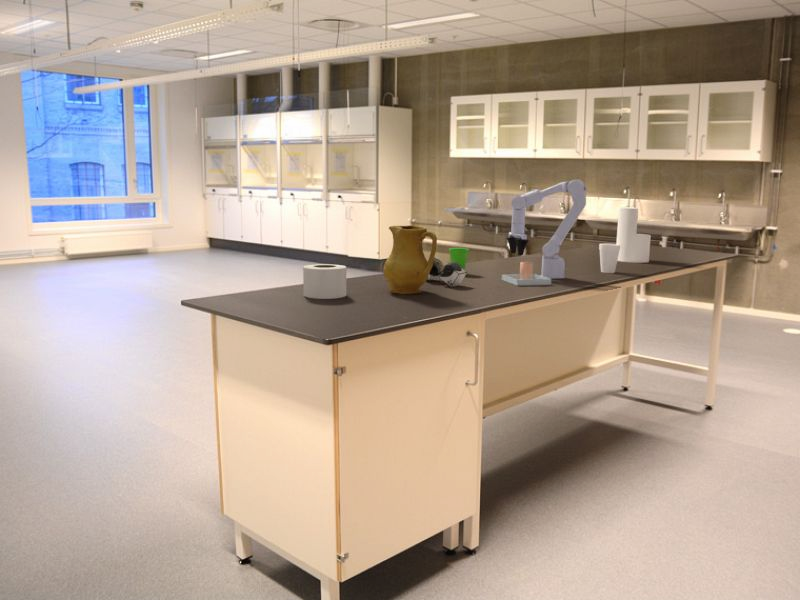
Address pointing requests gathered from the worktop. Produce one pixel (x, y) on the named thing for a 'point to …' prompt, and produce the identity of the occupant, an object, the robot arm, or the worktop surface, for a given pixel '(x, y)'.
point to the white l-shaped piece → (631, 237)
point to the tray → (535, 280)
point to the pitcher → (408, 259)
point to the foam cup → (608, 257)
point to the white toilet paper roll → (324, 281)
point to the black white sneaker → (447, 272)
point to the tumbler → (526, 270)
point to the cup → (459, 256)
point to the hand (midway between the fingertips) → (516, 254)
